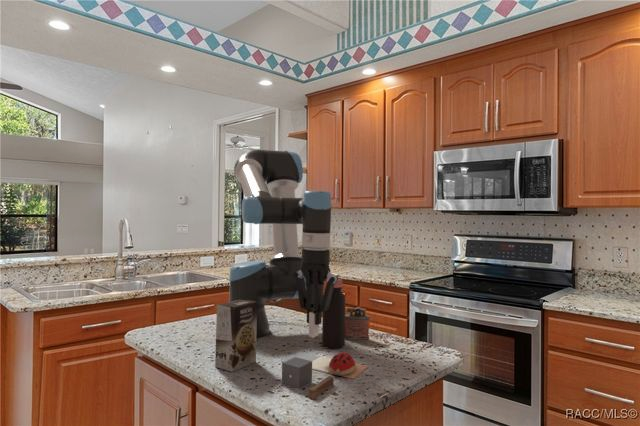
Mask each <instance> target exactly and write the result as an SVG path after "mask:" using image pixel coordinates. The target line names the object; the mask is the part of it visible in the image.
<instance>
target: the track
mask: <svg viewBox="0 0 640 426" xmlns="http://www.w3.org/2000/svg"><path fill="white" fill-rule="evenodd" d="M294 357H297V358H301V359H305V360H309V361H312V371H317V372H322V373H326V374H330V375H335V376H338V377H343V378H348V379H355V378H356V377H357V376H359V375H360V374H362V373H363V372H364V371H365V370H367V369H368V367H369V366H368V365H364V364H360V363H355V364H356V368H355V370H354V371H353V372H352V373H350V374H347V375H336V374H333V373H332V372H330V370H329V363H330V361H331V359H332V358H331V357H330V358H329V357H327V356H326V357H325V356H321V355H316V354H311V353H307V352H301V351H299V352H297V353H295V354H293V355H291V356H289V357H286V358H285V359H283V360H281V364H282V363H283V362H285V361H288V360H290V359H292V358H294Z"/></svg>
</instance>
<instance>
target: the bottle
mask: <svg viewBox="0 0 640 426" xmlns="http://www.w3.org/2000/svg"><path fill="white" fill-rule="evenodd" d="M325 280H326V281H325V285H326V284H327V282H328V281H327V278H326V279H325ZM342 289H343V279H342V278H339V277H338V280H337V282H336V283H335V285H334V289H333V293H332V297H331V301H330V305H329V308H328V310H326V311H324V312H322V318H321V324H322V326H321V329H322V330H321V336H322V337H321V346H322V347H324V348H327V349H331V350H338V349H342V348H344V347H345V346H346V345H345V343H346V340H345V315H346V295H345V294H344V293H343V292H342ZM323 296H324V294H323Z"/></svg>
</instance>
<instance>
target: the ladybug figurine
mask: <svg viewBox="0 0 640 426" xmlns="http://www.w3.org/2000/svg"><path fill="white" fill-rule="evenodd" d="M356 364H357V363H356V361H355V359H354V358H353V356H352V355H351V354H350V353H348V352H343V351H342V352H339V353H337V354H335V355H334V356H333V357H332V358H331V361H330V363H329V370H330V372H332V373H333V374H332V375H334V374H336V375H335V376H338V375H347V374H350V373H352V372H353V371H354V370H355V368H356Z"/></svg>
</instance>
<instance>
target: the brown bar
mask: <svg viewBox="0 0 640 426" xmlns="http://www.w3.org/2000/svg"><path fill="white" fill-rule="evenodd" d="M334 378H335V377H334V376H332V375H328V376H327V377H325V378H324V379H323V380H321V381H319V382H318V383H316V384H315V385H313V386H311V388H309V389H308V399H311V400H315V399H316V398H318V397H319V396H320V395H322V394H323V393H324V392H326V391H327V390H329V389H330V388H331V387H333V386H334V385H335V383H334V381H335V379H334Z"/></svg>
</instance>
